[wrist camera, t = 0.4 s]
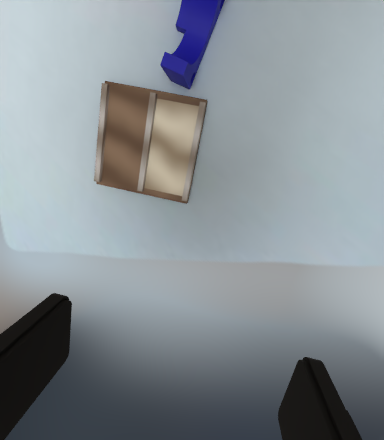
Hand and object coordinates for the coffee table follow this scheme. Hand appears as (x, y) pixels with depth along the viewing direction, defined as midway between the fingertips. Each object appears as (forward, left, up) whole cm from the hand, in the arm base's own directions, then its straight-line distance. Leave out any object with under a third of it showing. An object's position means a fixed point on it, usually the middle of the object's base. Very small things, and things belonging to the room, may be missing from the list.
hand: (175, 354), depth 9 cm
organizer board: (-7, -11, -29) cm, 32 cm away
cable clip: (-22, -8, -30) cm, 38 cm away
